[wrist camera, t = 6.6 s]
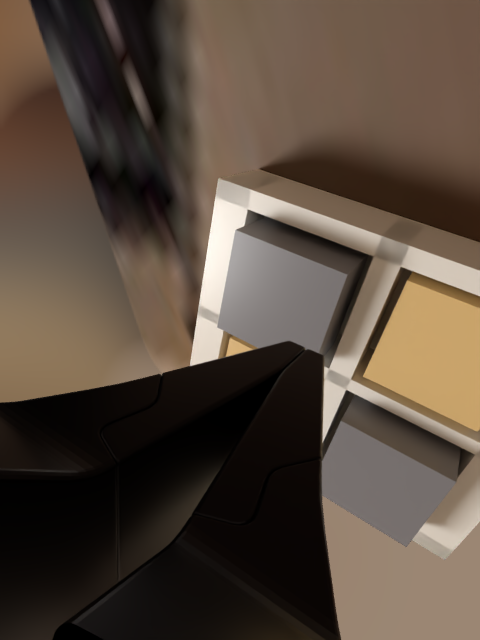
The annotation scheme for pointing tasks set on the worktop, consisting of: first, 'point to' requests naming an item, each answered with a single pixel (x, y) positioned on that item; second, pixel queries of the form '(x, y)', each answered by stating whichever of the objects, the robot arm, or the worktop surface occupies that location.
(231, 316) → the charcoal key near
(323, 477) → the charcoal key far
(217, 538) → the robot arm
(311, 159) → the worktop surface
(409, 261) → the keypad
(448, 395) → the ochre key
